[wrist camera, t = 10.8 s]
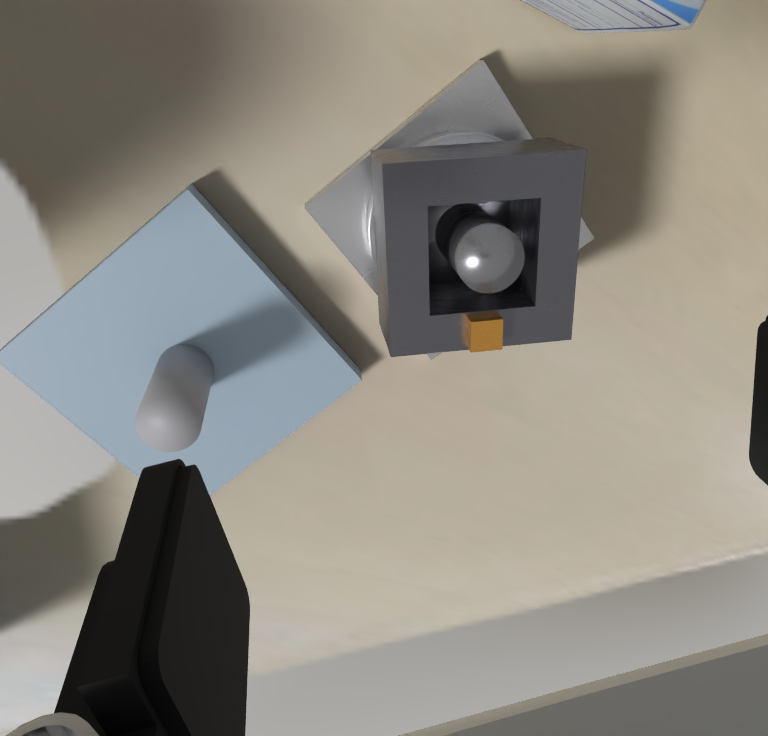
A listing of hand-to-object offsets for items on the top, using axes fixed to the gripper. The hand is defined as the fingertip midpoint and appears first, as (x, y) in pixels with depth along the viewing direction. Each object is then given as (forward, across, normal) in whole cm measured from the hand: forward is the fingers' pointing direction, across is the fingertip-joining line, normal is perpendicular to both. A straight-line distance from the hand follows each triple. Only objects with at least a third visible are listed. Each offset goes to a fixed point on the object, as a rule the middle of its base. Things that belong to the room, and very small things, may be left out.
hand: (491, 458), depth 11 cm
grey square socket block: (+17, -4, +2) cm, 18 cm away
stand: (+20, +9, +5) cm, 22 cm away
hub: (+20, -4, +2) cm, 20 cm away
